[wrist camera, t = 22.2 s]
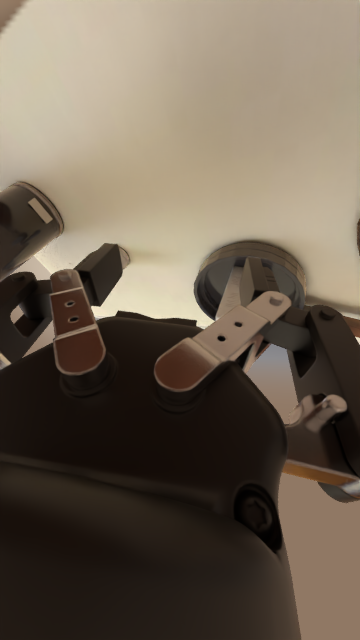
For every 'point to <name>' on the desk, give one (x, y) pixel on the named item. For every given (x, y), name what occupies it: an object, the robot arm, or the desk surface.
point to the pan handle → (356, 326)
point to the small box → (230, 293)
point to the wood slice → (358, 236)
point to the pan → (222, 261)
